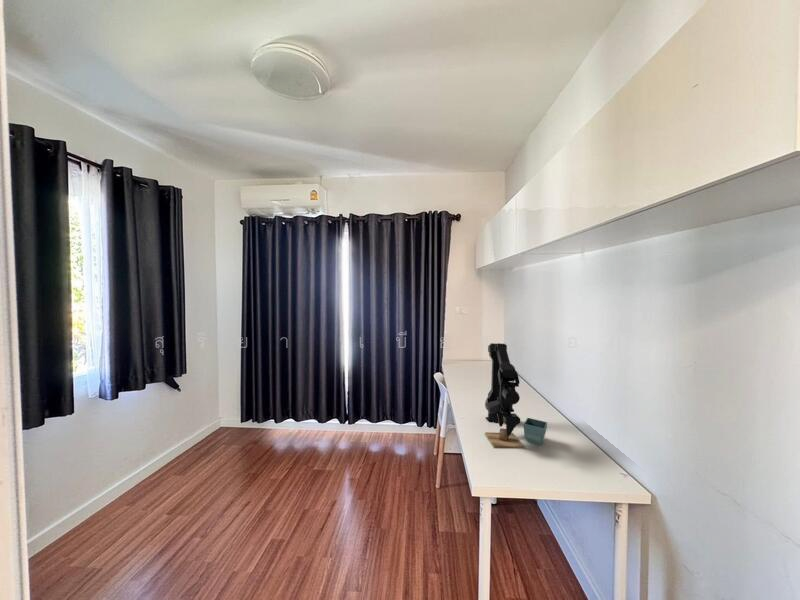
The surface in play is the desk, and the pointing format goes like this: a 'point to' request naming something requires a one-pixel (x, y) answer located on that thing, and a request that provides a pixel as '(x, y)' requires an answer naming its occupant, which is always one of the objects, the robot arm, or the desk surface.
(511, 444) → the lid
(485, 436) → the mat
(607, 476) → the desk surface
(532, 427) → the flower pot
